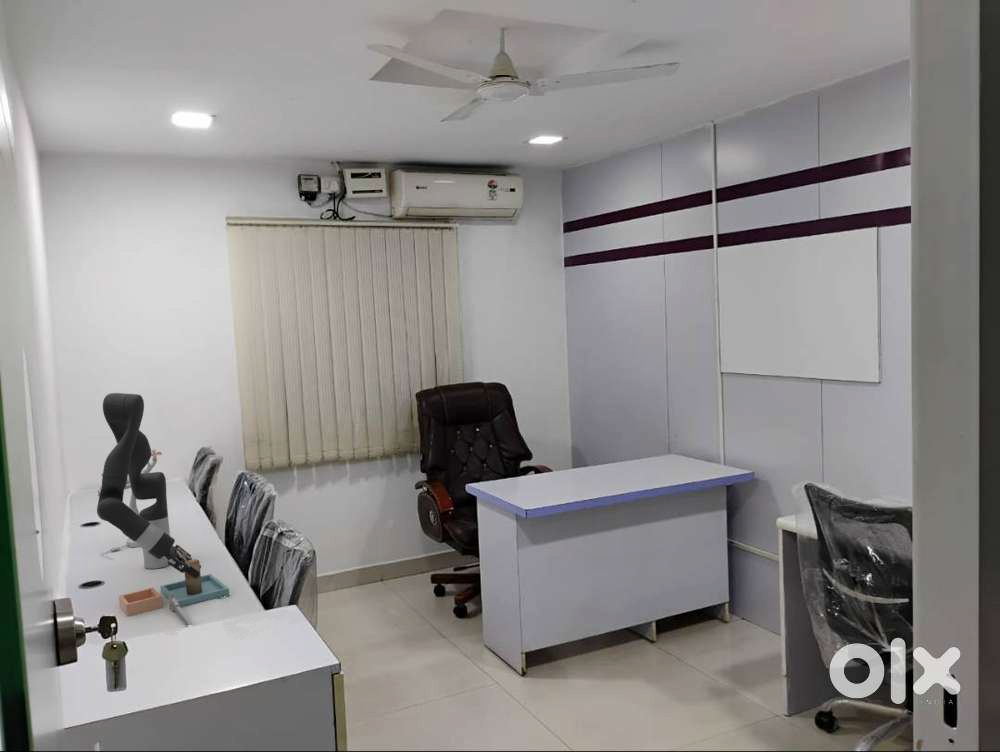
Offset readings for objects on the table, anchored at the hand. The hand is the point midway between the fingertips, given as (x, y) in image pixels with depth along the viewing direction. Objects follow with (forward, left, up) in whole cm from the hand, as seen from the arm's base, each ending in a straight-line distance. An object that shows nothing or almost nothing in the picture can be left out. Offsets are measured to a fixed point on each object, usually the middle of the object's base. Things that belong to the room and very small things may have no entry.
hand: (198, 572), depth 257 cm
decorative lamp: (-73, -4, -7) cm, 73 cm away
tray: (-1, -2, -7) cm, 7 cm away
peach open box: (-1, -18, -7) cm, 19 cm away
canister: (-1, -2, -6) cm, 7 cm away
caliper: (+18, -11, -8) cm, 22 cm away
